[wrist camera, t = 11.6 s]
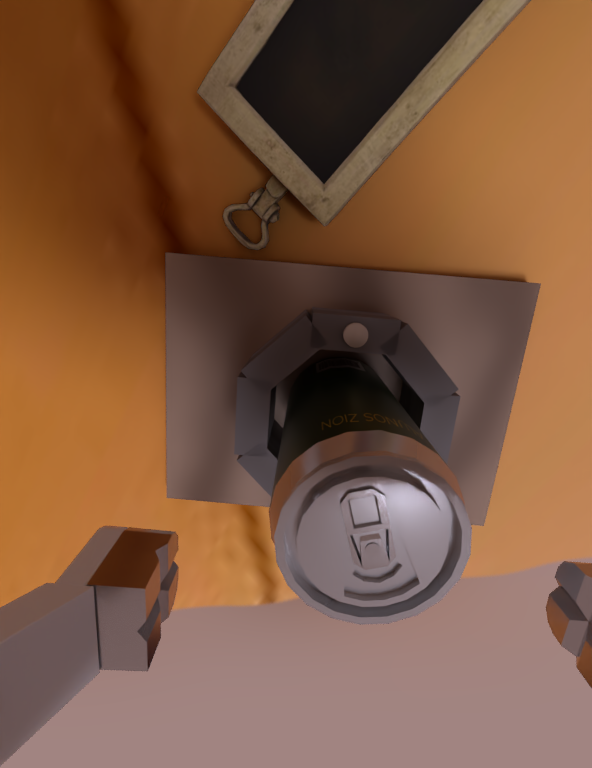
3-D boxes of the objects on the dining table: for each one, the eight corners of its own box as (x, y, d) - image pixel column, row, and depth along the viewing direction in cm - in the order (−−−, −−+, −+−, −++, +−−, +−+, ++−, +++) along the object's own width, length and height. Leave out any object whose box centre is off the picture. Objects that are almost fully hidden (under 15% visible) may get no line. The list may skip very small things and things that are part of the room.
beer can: (278, 365, 21) (240, 469, 9) (376, 344, 20) (468, 424, 9) (300, 455, 22) (291, 645, 10) (393, 436, 22) (492, 614, 10)
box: (682, -154, 15) (825, -327, 10) (297, 281, 23) (281, 293, 19) (545, -349, 14) (636, -641, 9) (192, 180, 22) (148, 166, 18)
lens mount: (173, 487, 24) (134, 546, 19) (173, 254, 21) (125, 243, 15) (475, 514, 24) (523, 581, 19) (527, 283, 20) (606, 283, 15)
